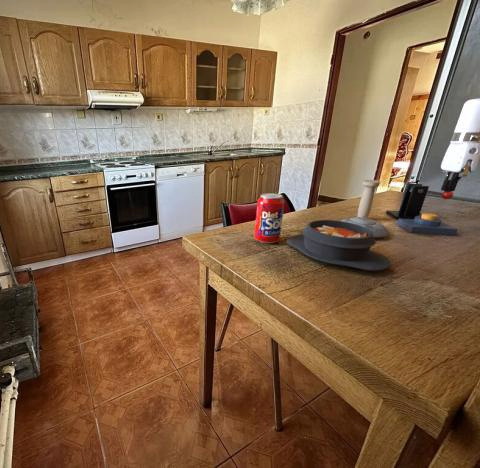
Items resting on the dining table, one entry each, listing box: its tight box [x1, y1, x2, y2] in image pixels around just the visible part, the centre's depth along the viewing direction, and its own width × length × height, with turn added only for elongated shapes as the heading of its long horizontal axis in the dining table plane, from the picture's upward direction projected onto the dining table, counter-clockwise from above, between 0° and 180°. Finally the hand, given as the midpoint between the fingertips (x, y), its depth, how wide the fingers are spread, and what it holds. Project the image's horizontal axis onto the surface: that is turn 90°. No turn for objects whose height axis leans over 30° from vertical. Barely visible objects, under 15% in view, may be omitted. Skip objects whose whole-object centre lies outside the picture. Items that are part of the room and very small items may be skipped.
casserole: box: [286, 219, 392, 272], centre depth 71 cm, size 25×19×8 cm
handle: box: [356, 179, 381, 218], centre depth 98 cm, size 5×6×15 cm
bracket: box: [385, 183, 430, 221], centre depth 100 cm, size 11×9×13 cm
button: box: [421, 212, 438, 220], centre depth 87 cm, size 4×4×2 cm
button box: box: [396, 216, 459, 236], centre depth 88 cm, size 12×9×4 cm
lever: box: [409, 185, 454, 200], centre depth 97 cm, size 13×3×3 cm, turn 73°
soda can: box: [253, 192, 286, 245], centre depth 81 cm, size 8×8×15 cm
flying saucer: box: [340, 216, 390, 239], centre depth 87 cm, size 15×15×6 cm
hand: (447, 190), depth 95 cm, fingers closed
